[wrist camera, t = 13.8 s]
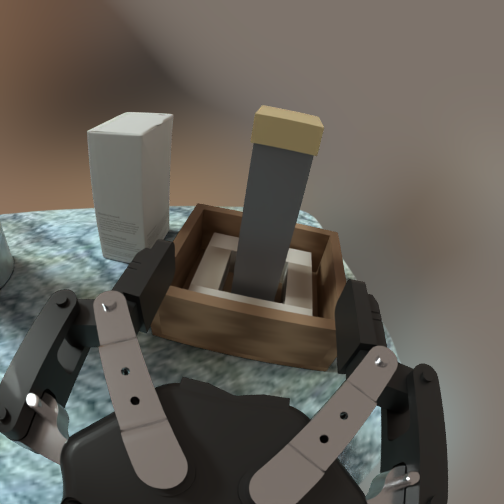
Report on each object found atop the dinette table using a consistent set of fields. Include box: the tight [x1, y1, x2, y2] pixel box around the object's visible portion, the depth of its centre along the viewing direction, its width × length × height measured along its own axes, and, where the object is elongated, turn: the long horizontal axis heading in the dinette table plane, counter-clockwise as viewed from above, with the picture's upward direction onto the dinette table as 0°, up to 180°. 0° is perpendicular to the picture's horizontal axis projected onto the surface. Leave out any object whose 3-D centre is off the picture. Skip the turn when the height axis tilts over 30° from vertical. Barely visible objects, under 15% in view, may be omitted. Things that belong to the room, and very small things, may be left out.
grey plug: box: [231, 105, 324, 302], centre depth 24 cm, size 4×4×18 cm
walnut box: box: [151, 204, 346, 371], centre depth 28 cm, size 16×14×6 cm
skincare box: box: [87, 112, 173, 263], centre depth 29 cm, size 8×7×16 cm
